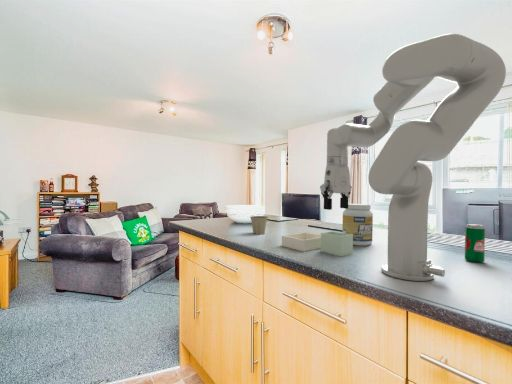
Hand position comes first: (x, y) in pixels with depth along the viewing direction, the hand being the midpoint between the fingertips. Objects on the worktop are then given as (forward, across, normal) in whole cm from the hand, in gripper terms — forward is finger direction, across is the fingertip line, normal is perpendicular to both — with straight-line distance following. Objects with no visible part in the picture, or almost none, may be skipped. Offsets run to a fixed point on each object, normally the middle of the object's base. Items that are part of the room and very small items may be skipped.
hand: (336, 208), depth 99 cm
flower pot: (+17, +1, +48) cm, 51 cm away
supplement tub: (+16, +21, +4) cm, 27 cm away
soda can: (+16, +27, -35) cm, 47 cm away
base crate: (+17, -2, +13) cm, 21 cm away
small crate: (+16, 0, -1) cm, 16 cm away
